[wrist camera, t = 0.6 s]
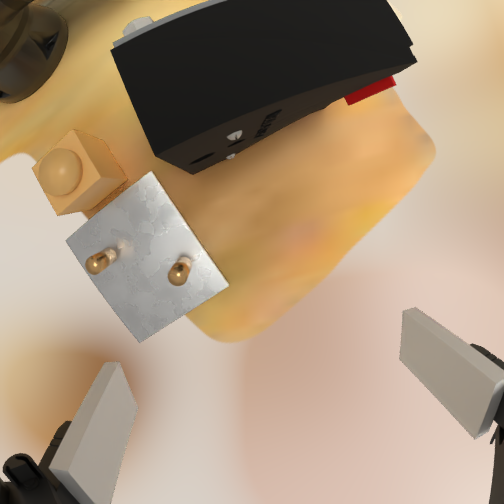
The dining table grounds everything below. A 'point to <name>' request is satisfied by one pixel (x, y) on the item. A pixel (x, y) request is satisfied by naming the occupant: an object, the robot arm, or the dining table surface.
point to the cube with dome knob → (78, 173)
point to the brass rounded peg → (180, 271)
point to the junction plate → (146, 258)
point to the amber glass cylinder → (100, 261)
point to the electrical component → (252, 69)
